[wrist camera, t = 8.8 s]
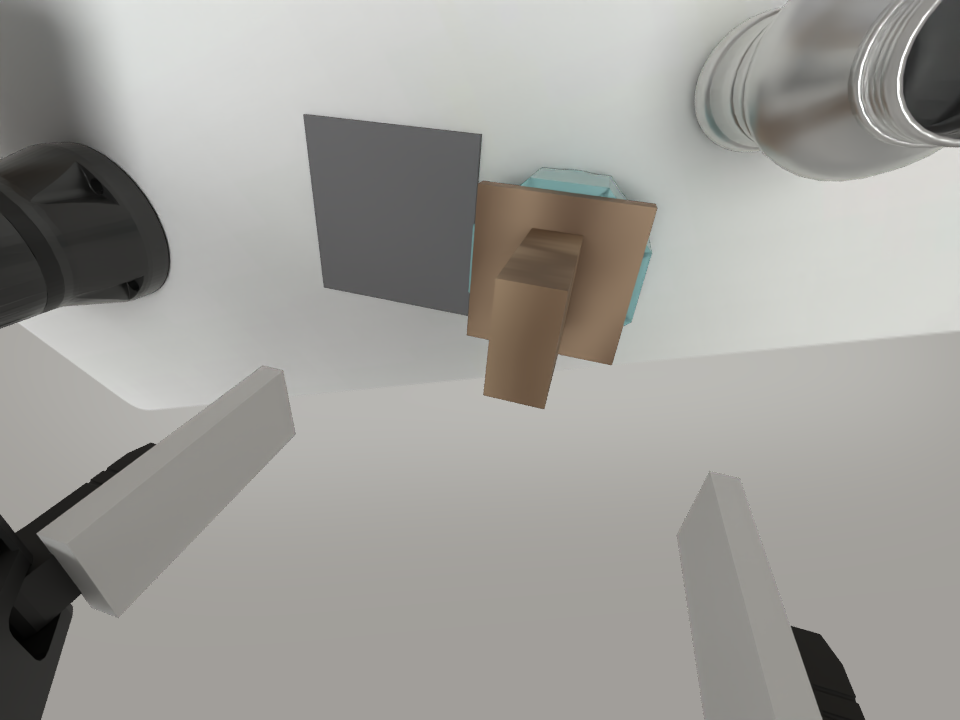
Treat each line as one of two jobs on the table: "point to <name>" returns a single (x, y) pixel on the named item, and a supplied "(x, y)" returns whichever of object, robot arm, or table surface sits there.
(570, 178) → the bowl
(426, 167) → the mat
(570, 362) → the table surface
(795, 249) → the table surface
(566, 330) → the cover lid
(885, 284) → the table surface
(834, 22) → the plastic bottle
